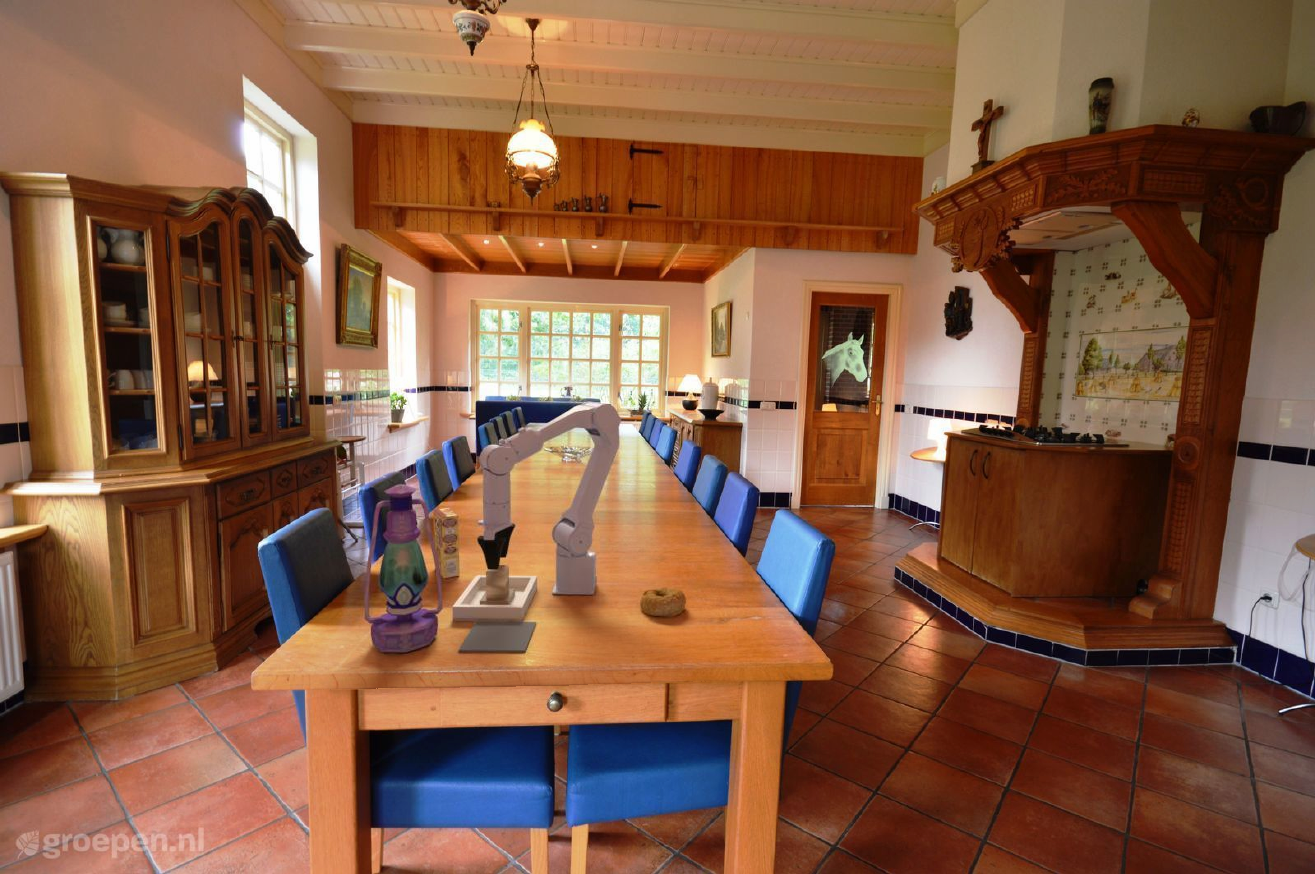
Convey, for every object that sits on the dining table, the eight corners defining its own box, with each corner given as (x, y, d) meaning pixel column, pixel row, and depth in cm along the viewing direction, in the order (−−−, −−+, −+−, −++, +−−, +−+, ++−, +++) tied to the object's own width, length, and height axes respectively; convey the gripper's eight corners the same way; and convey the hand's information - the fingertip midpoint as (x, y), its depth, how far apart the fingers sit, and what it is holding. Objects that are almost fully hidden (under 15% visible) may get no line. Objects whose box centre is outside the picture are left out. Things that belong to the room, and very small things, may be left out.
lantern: (364, 662, 104) (357, 493, 100) (367, 633, 114) (361, 480, 111) (445, 649, 109) (441, 488, 105) (440, 623, 120) (437, 476, 116)
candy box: (460, 576, 146) (459, 515, 144) (442, 579, 143) (441, 517, 142) (450, 565, 153) (449, 507, 151) (433, 568, 151) (432, 509, 149)
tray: (537, 588, 139) (537, 575, 139) (522, 621, 121) (522, 607, 121) (476, 587, 139) (476, 575, 138) (452, 620, 121) (452, 606, 120)
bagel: (678, 597, 136) (678, 577, 135) (691, 618, 125) (691, 596, 125) (635, 601, 134) (635, 580, 133) (645, 622, 123) (645, 600, 123)
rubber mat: (536, 623, 120) (536, 621, 120) (525, 652, 109) (525, 650, 108) (476, 623, 120) (476, 621, 120) (458, 651, 108) (458, 649, 108)
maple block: (509, 591, 132) (508, 565, 131) (505, 598, 128) (504, 571, 127) (490, 590, 132) (490, 564, 131) (486, 598, 128) (485, 571, 127)
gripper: (486, 493, 134) (487, 551, 136) (468, 509, 120) (469, 574, 121) (518, 494, 134) (518, 552, 136) (503, 509, 120) (504, 574, 122)
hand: (497, 562), depth 129 cm, fingers open, 7 cm apart
